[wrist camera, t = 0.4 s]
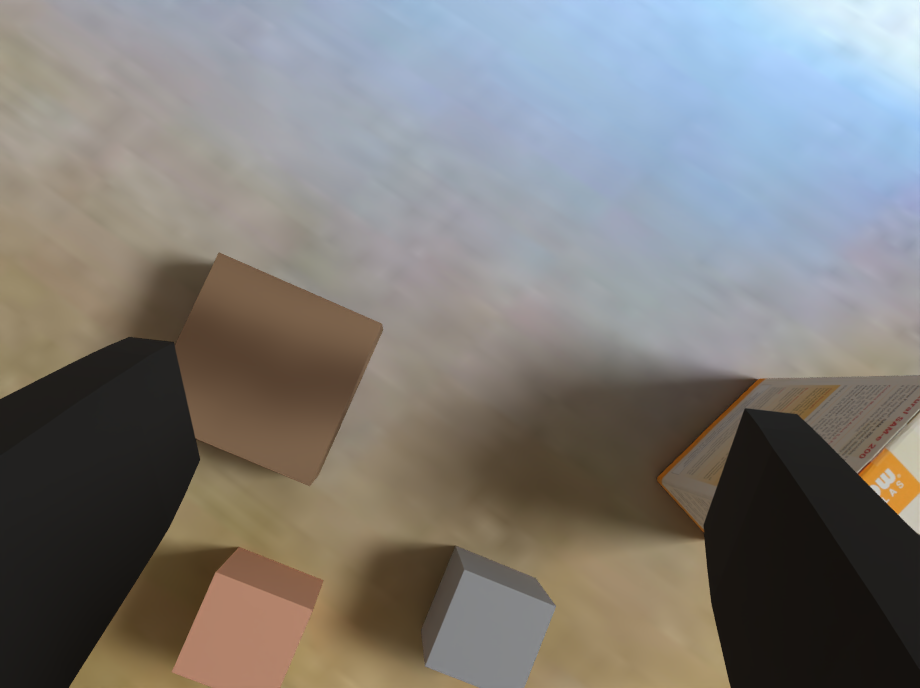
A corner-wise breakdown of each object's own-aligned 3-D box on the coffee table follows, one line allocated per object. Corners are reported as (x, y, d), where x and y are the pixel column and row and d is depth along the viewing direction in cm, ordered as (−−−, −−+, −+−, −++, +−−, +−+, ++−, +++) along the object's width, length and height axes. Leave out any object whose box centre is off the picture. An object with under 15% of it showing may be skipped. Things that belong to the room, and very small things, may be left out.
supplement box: (711, 545, 36) (889, 637, 23) (651, 477, 36) (797, 532, 23) (818, 440, 37) (1048, 472, 24) (761, 373, 37) (960, 369, 24)
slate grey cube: (502, 661, 35) (518, 702, 30) (421, 629, 35) (425, 666, 30) (535, 577, 35) (556, 606, 31) (455, 545, 35) (464, 569, 30)
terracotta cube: (287, 665, 34) (270, 709, 29) (201, 633, 34) (171, 672, 29) (323, 580, 34) (313, 610, 30) (239, 546, 34) (215, 572, 29)
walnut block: (319, 474, 35) (309, 485, 31) (170, 411, 34) (141, 416, 30) (383, 330, 35) (381, 323, 31) (238, 267, 35) (218, 252, 31)
